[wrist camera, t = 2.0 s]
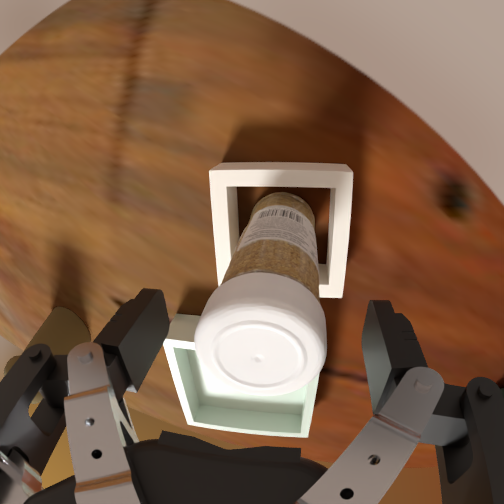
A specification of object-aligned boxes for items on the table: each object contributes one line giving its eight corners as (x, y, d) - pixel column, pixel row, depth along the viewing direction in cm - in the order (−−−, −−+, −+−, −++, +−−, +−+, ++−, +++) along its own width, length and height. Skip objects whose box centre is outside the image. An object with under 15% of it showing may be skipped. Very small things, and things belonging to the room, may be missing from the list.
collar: (346, 164, 19) (353, 172, 17) (338, 276, 23) (341, 298, 20) (221, 162, 21) (209, 170, 18) (228, 272, 24) (219, 292, 22)
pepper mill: (44, 307, 30) (-12, 364, 21) (74, 305, 29) (13, 371, 19) (67, 347, 33) (20, 406, 23) (99, 348, 31) (50, 417, 21)
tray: (321, 323, 25) (322, 351, 22) (308, 411, 30) (307, 437, 27) (176, 313, 27) (161, 338, 24) (196, 400, 32) (188, 424, 29)
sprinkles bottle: (242, 236, 23) (178, 373, 11) (265, 179, 21) (211, 278, 9) (299, 260, 23) (290, 413, 11) (327, 206, 21) (354, 335, 9)
